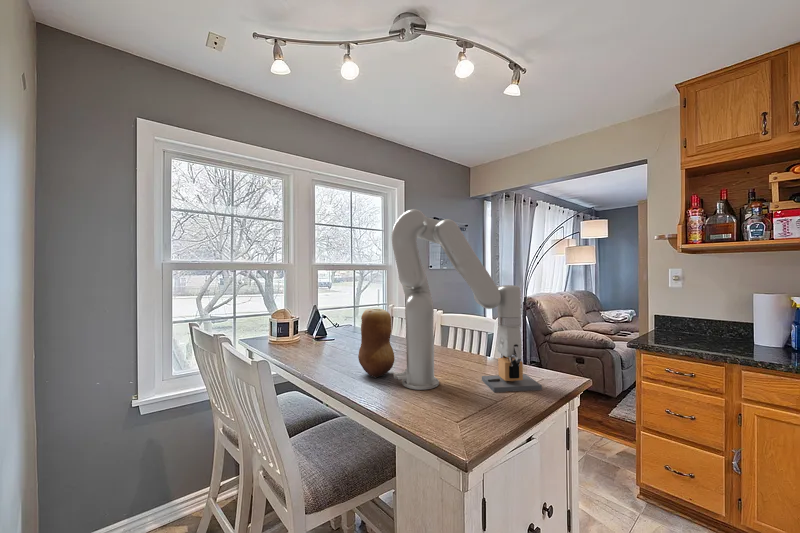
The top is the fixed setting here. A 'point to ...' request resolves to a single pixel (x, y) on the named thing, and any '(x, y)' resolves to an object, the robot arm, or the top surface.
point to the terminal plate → (511, 384)
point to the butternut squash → (376, 342)
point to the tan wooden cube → (504, 369)
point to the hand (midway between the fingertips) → (510, 374)
